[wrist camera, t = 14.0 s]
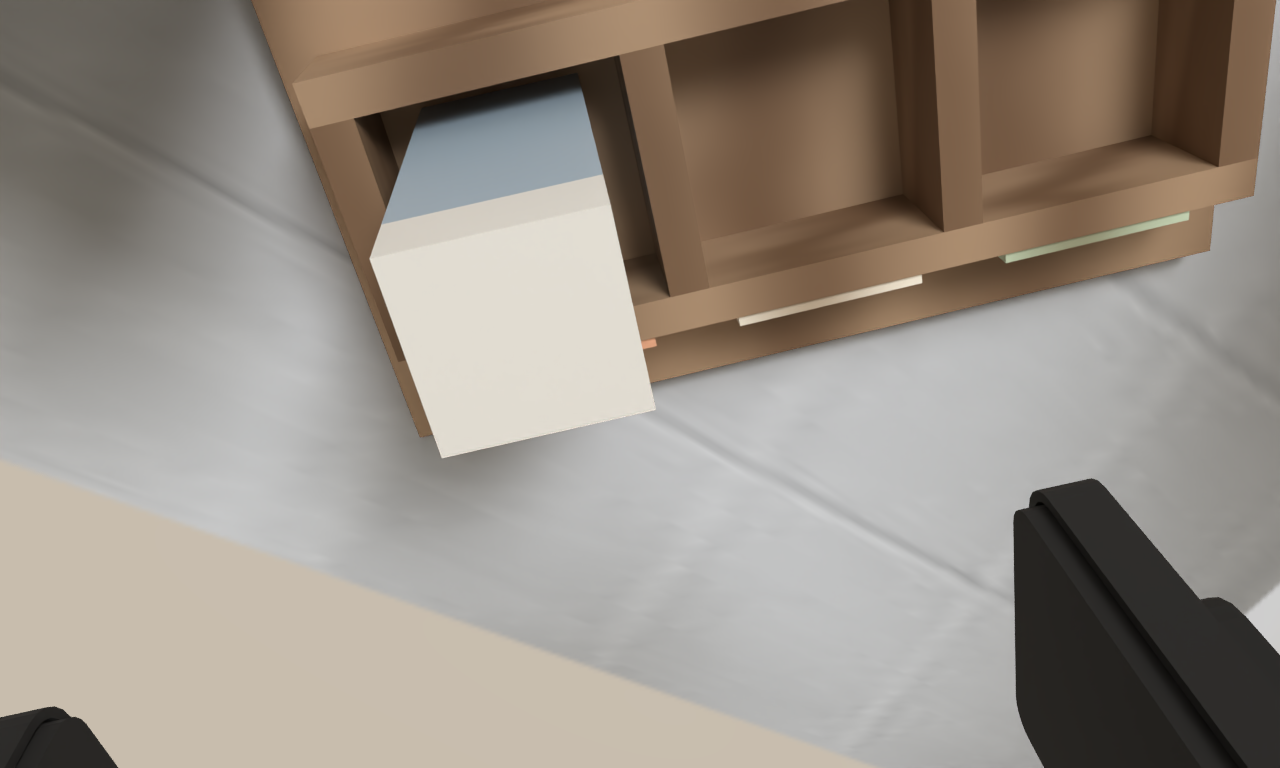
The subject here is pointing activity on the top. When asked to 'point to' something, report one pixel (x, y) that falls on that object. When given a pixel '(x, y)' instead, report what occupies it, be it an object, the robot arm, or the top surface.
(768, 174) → the socket block
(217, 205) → the top surface
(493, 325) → the plug
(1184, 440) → the top surface
